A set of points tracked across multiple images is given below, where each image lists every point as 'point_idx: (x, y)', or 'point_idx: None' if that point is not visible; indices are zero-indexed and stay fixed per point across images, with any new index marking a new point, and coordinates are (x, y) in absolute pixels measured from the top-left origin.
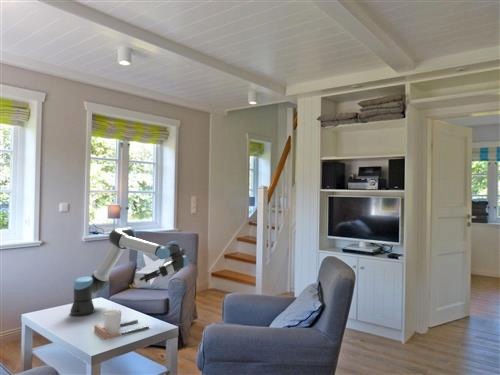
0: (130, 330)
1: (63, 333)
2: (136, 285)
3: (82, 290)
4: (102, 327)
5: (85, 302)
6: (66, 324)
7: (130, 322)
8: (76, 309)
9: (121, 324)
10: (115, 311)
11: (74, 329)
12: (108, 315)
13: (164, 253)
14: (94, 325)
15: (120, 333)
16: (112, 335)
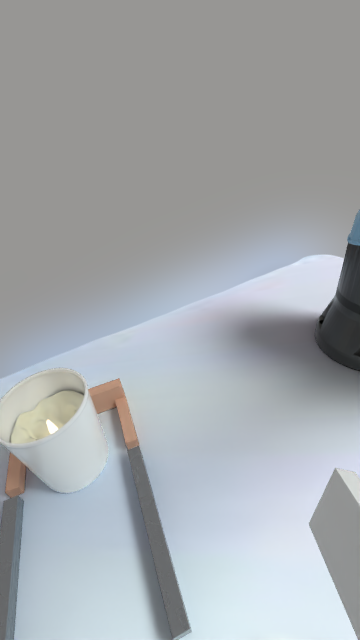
0: (3, 553)
1: (152, 328)
2: (314, 534)
3: (351, 251)
4: (128, 413)
5: (346, 310)
6: (230, 322)
7: (155, 565)
8: (326, 312)
9: (140, 500)
10: (77, 418)
11: (176, 344)
12: (14, 387)
13: None
14: (119, 379)
15: (5, 492)
16: (10, 456)
